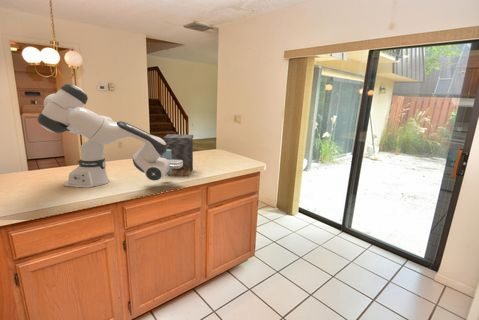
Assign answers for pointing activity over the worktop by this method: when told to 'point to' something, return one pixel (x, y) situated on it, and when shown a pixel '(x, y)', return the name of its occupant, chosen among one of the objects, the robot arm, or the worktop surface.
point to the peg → (168, 158)
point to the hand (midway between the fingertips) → (167, 160)
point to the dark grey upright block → (181, 152)
